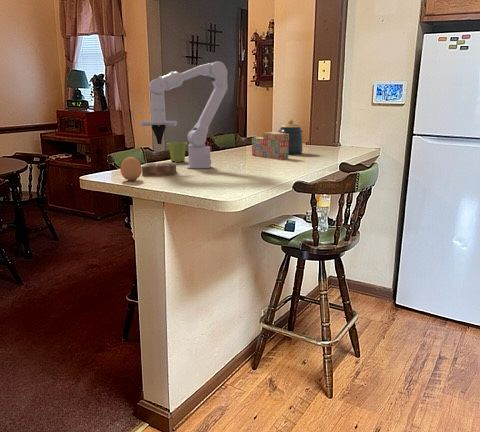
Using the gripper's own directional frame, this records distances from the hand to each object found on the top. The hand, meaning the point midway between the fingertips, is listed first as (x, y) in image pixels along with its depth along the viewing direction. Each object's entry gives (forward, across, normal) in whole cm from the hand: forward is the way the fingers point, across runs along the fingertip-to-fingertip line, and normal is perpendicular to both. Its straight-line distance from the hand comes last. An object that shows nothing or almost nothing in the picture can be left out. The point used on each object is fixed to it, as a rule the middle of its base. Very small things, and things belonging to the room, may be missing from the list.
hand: (159, 143), depth 193 cm
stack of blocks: (+11, -50, -39) cm, 64 cm away
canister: (+10, -62, -54) cm, 83 cm away
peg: (+10, -3, +12) cm, 16 cm away
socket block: (+10, -1, +12) cm, 16 cm away
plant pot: (+11, -5, -24) cm, 27 cm away
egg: (+11, +7, +28) cm, 31 cm away
